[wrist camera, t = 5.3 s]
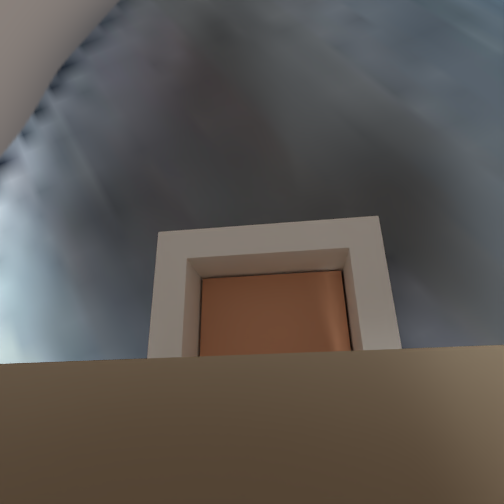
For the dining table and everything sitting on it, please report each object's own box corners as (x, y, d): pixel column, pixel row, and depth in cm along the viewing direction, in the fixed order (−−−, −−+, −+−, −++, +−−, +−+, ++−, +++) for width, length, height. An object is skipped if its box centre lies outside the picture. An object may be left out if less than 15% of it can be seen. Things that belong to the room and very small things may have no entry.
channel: (432, 658, 11) (467, 722, 9) (152, 645, 12) (116, 702, 9) (367, 243, 16) (378, 215, 14) (177, 256, 17) (158, 231, 15)
